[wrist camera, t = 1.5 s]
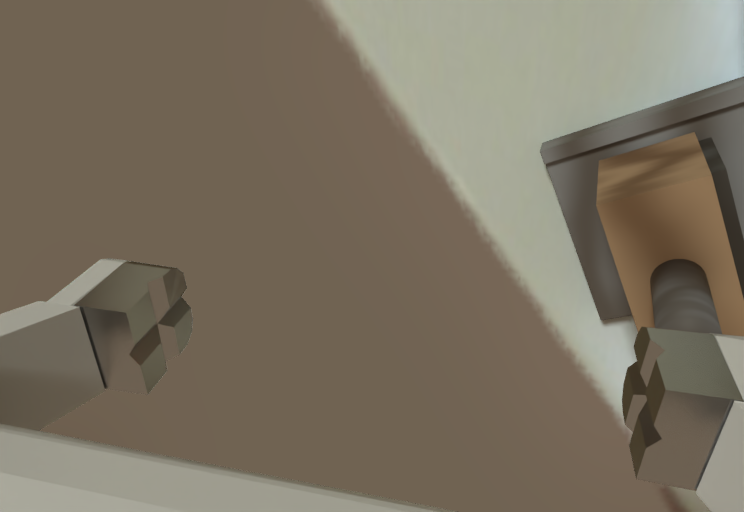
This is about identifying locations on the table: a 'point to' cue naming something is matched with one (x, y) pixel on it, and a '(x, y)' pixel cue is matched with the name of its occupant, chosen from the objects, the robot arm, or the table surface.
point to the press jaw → (675, 235)
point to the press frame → (637, 130)
